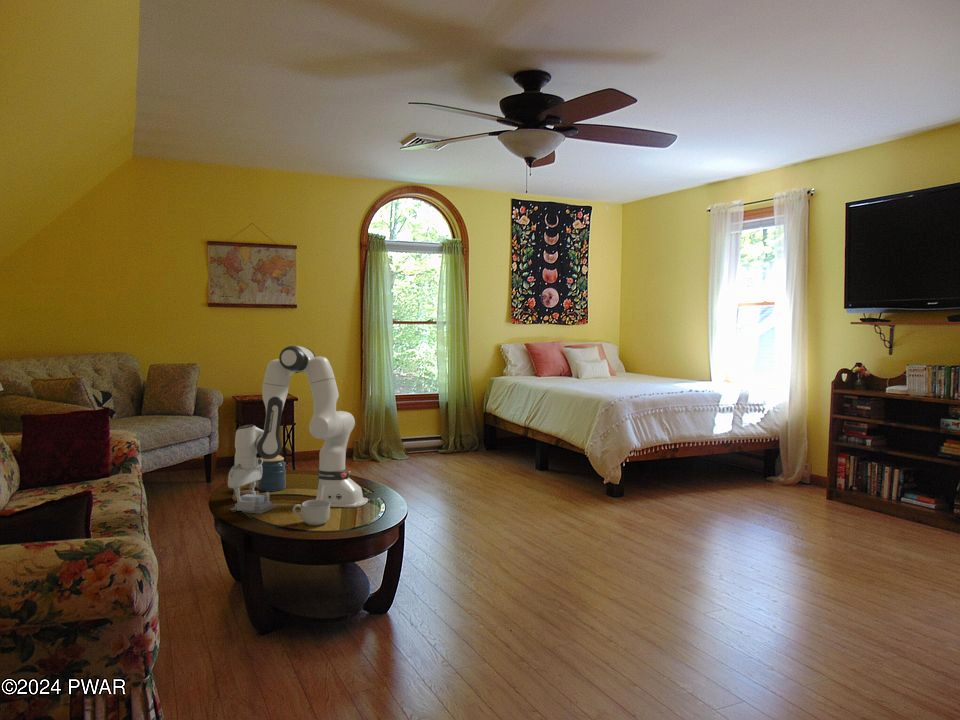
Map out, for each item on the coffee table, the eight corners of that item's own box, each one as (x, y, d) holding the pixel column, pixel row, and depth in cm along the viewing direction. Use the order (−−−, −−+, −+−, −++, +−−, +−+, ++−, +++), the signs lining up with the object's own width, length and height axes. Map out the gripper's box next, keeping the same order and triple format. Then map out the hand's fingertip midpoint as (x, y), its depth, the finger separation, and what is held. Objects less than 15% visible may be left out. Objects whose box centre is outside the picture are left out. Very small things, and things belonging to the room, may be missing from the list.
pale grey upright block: (264, 506, 276) (264, 495, 276) (258, 508, 273) (258, 497, 272) (246, 504, 278) (246, 494, 278) (241, 507, 274) (241, 496, 274)
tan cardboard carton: (238, 499, 292) (238, 489, 292) (258, 501, 289) (259, 491, 289) (233, 501, 288) (233, 491, 288) (253, 503, 285) (253, 493, 285)
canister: (252, 491, 306) (252, 453, 306) (262, 485, 319) (262, 448, 318) (280, 492, 306) (280, 454, 305) (289, 485, 319) (289, 449, 318)
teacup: (332, 519, 261) (332, 499, 261) (327, 527, 251) (327, 506, 250) (296, 519, 261) (297, 499, 261) (289, 527, 250) (290, 506, 250)
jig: (276, 506, 279) (276, 492, 279) (260, 514, 268) (260, 499, 268) (246, 504, 283) (246, 490, 283) (229, 511, 271) (229, 496, 271)
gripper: (237, 467, 278) (236, 500, 278) (265, 459, 298) (264, 489, 298) (224, 466, 279) (223, 498, 280) (252, 458, 299) (252, 488, 300)
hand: (245, 494), depth 289 cm, fingers open, 8 cm apart
